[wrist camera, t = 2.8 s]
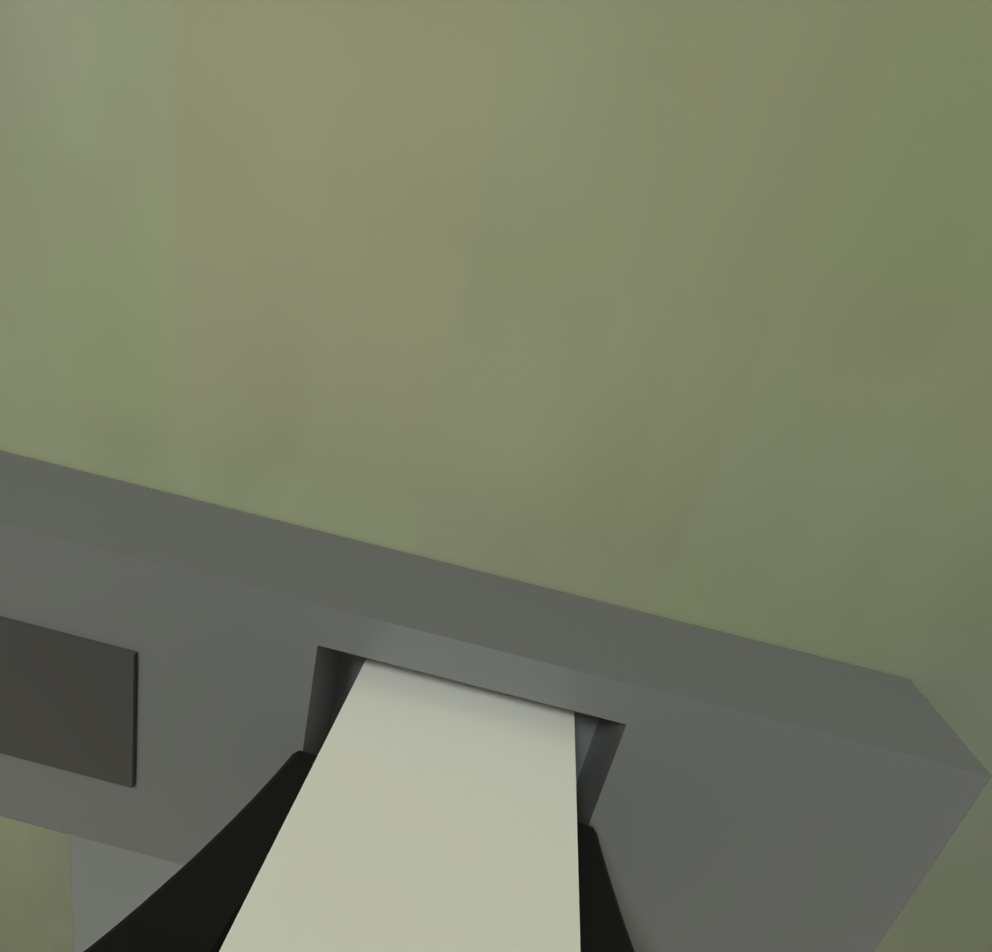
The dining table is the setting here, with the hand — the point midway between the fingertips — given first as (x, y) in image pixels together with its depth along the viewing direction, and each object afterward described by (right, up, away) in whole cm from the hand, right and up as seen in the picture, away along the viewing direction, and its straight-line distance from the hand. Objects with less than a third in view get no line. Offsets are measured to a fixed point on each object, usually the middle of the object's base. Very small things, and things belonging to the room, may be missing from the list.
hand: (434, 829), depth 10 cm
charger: (0, +1, +2) cm, 2 cm away
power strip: (-6, +3, +3) cm, 8 cm away
